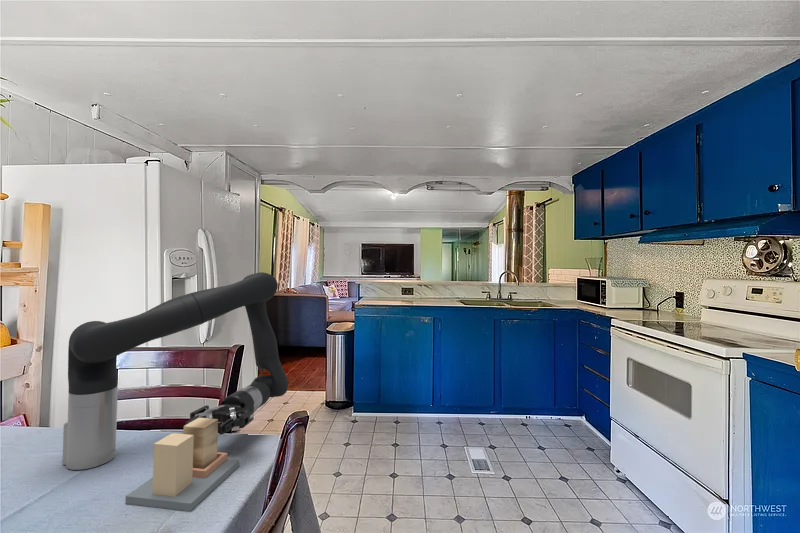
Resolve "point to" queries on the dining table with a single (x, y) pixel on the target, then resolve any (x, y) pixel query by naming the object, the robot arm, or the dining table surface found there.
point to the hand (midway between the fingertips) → (203, 428)
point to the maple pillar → (203, 441)
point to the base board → (186, 494)
